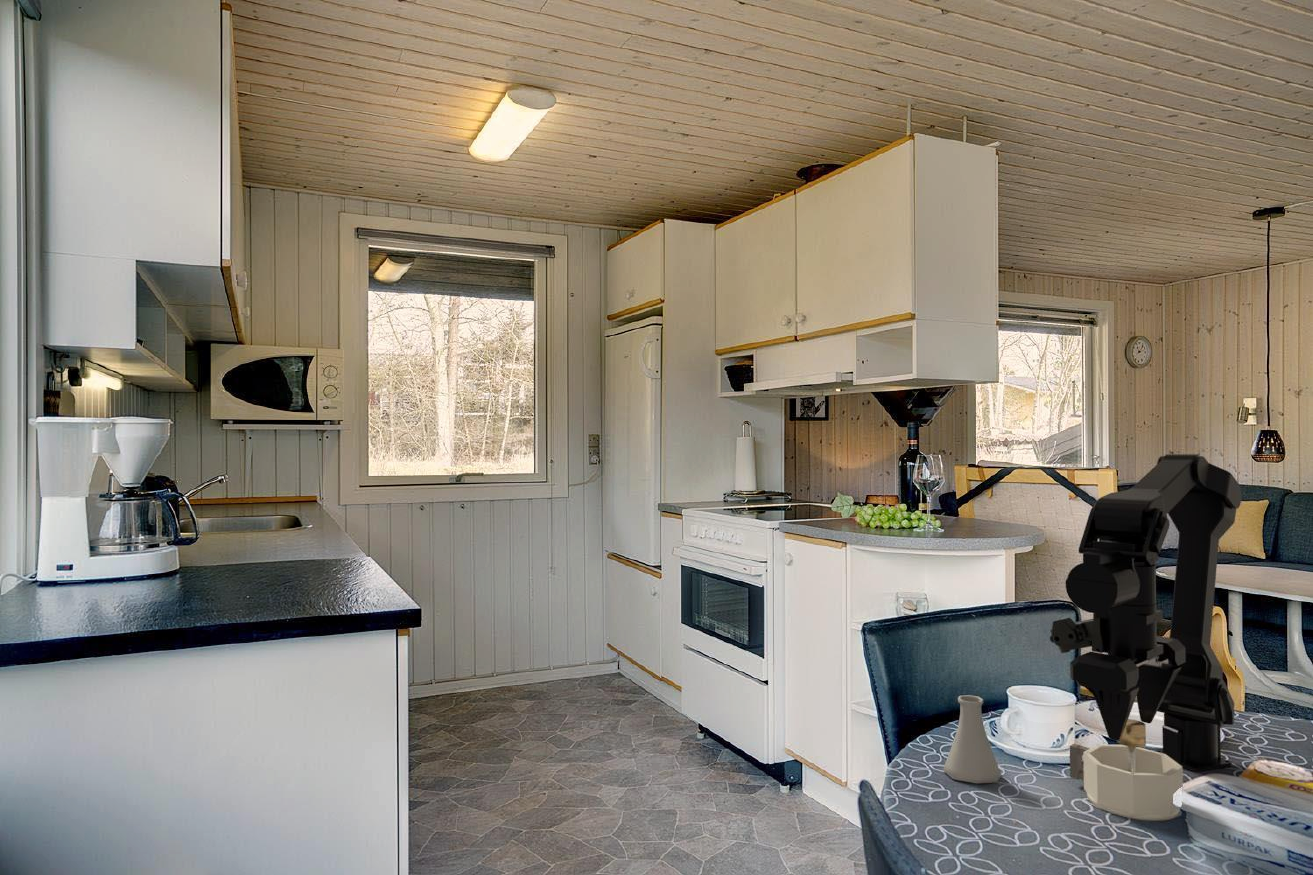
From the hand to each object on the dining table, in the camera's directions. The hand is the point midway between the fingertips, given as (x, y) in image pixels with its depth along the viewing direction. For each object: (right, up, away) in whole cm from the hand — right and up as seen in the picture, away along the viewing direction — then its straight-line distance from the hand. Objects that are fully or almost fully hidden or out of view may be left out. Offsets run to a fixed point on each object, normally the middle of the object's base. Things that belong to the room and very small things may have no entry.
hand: (1130, 730), depth 100 cm
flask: (-16, -9, +9) cm, 20 cm away
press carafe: (0, -9, +1) cm, 9 cm away
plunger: (0, -8, 0) cm, 8 cm away
